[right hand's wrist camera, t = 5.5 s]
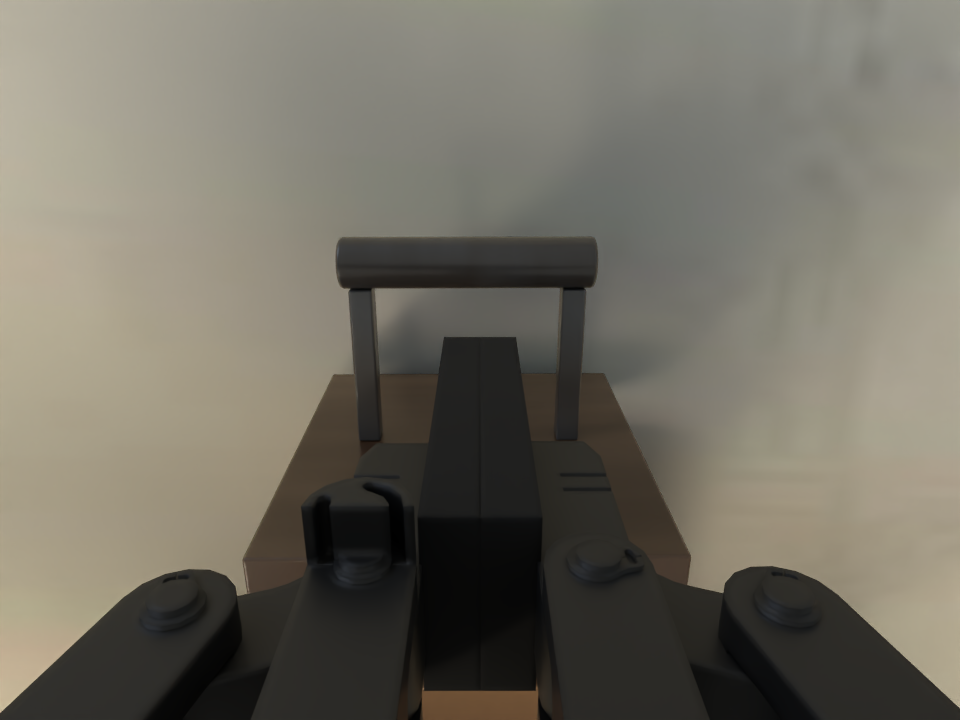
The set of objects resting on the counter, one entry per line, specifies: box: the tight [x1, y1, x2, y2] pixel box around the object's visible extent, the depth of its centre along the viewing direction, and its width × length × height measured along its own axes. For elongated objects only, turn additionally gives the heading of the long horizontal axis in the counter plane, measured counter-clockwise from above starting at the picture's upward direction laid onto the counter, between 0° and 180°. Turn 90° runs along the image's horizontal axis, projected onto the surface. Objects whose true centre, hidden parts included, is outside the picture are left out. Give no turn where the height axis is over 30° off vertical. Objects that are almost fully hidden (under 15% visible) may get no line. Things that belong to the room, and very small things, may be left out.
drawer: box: [243, 237, 691, 594], centre depth 20 cm, size 21×9×10 cm, turn 0°
